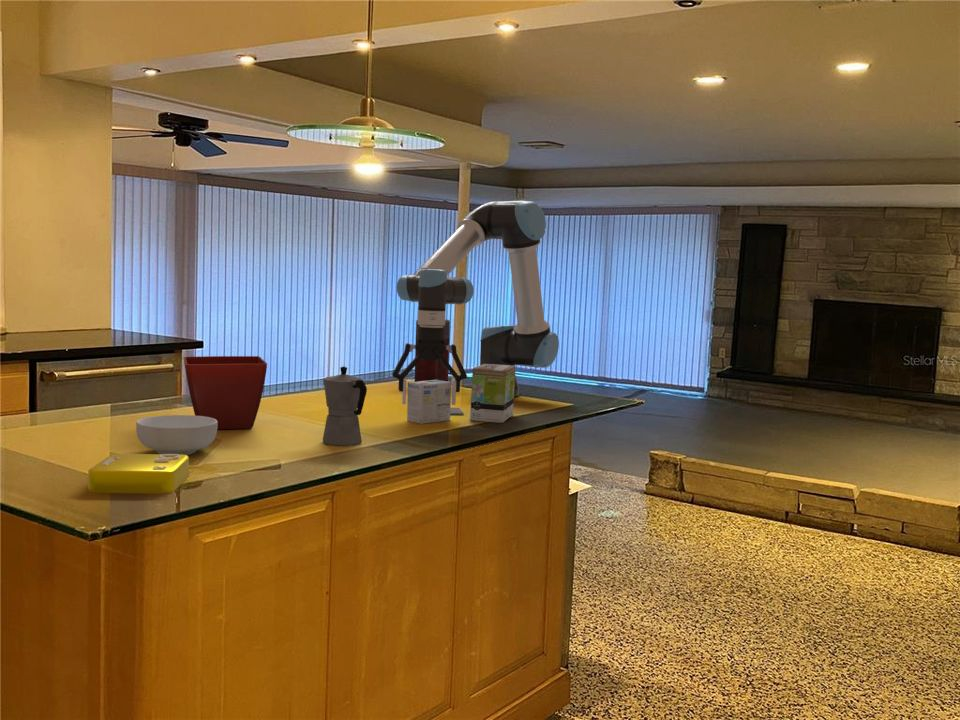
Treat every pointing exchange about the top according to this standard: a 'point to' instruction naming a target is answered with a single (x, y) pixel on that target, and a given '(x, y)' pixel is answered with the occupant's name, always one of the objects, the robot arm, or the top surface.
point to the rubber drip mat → (456, 411)
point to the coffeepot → (343, 409)
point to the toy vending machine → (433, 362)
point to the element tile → (139, 473)
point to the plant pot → (226, 388)
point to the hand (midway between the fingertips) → (428, 404)
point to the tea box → (492, 393)
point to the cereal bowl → (176, 433)
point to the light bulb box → (428, 401)
